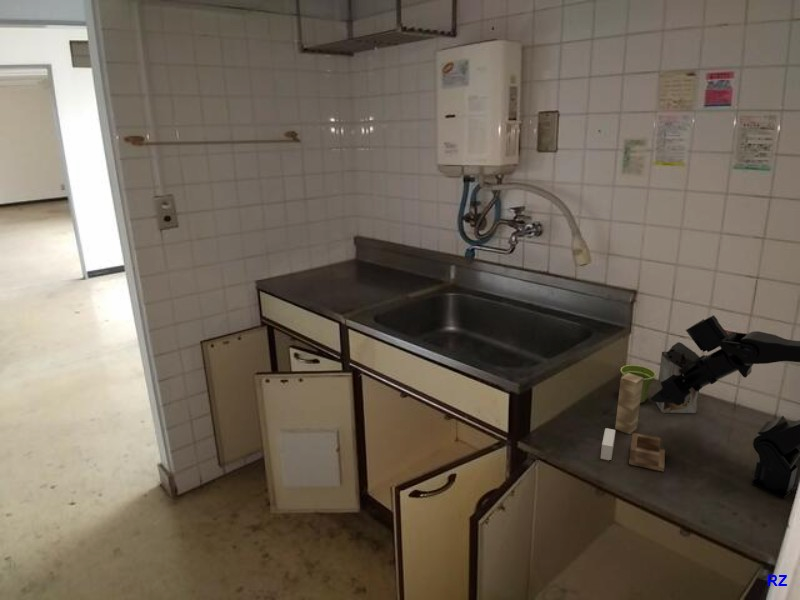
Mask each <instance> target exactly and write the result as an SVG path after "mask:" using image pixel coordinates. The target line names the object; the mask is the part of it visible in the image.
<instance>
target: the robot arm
mask: <svg viewBox="0 0 800 600" xmlns="http://www.w3.org/2000/svg"><path fill="white" fill-rule="evenodd" d="M685 332H686V333H687V334H688V335H689V337H690V338H691V339H692V341H693V342H694V343H695V345H696V346H697V348H698V349H699V351H702V352H703V353H704V352H707V353H710V352H711V351H713V350H716V349H717V348H719V347H720V349H718V350H716V351H713V352H711V353H710V354H708V355H707V354H706V355H705V354H703V355H701V356H700V355H698V354H697V353H696V352H695V351H693V350H692V349H691V348H689V347H688V346H687V345H685V344H684V343H682V342H679V341H678V342H675V344H673V345H672V346H671V347H670V349H668V351H666V352H667V354H666V355H665V356H666V358H667V359H668V360H669V361H671V362H672V363H673V364H675V365H678V366H679V367H681V369H680V370H679V371H680V372H681V374H680V375H679V376H677V375H671V376H669V377H668V378H666V379H664V380H663V381H662V382H661V386H662V389H661V390H660V391H658V392H657V391H656V393H655V394H653V395H652V396H651V397H650V400H651V402H653V403H656V402H664V403H674V404H675V405H677V406H678V405H680V404H682V403H684V402H686V401H687V400H688V399H689V398H690V395H691V392H690V391H689V389H691V388H692V387H693V388H694V390H695V391H698V390H699V391H700V390H702V389H703V387H706V386H708V385H713V384H715V383H717V382H718V381H719V380H721V379H723V378H725V377H727V376H730V375H731V374H733V373H736V372H739V373H740V375H741V376H742V377H743V378H747V377H748V376H749V375H750V374H751V373H752V367H753V365H760V364H761V365H762V364H763V365H764V364H772V363H779V362H790V363H800V340H792V339H787V338H783V337H781V336H778V335H776V334H772V333H767V332H763V331H750V332H748V333H744V332H743V333H742V332H737V331H731V332H730V333H728V332H727V331H726V330H725V329H724V327H723V326H722V325H721V324H720V322H719V320H718V318H717V316H715V315H711V316H708V317H707V318H705V319H701V320H700V321H698V322H696V323H695V324H693V325H692V326H690V327H688V328H686V329H685ZM694 352H695V353H696V354H697V355H696V354H695V353H694ZM752 446H753V449H754V451H755V453H757V455H758V458H759V460H758V461H757V462H756V465H755V469H754V474H753V479H754V480H751V481H752V482H751V484H752V485H753V486H755V487H758V488H760V489H761V490H763V491H766V492H768V493H770V494H773V495H775V496H777V497H778V498H781V499H785V498H787V497H788V496H789V495H790V494H791V493H792V492H793V491H795V490H796V487H797V485H796V484H795V482H796V481H795V480H796V476H797V472H798V468H799V467H798V465H796V462H797V460H798V459H799V457H800V449H799V446H800V419H798V420H794V421H793V420H790V421H789V420H787V419H786V417H785V416H784V415H781V416H780V417H778V418H777V419H774V420H770V421H768V420H767V421H766V422H765V424H763V426H762V427H761V428H760V430H758V432H757V435H756V436H755V437H754V439H753V442H752ZM791 491H792V492H791Z"/></svg>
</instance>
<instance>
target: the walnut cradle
mask: <svg viewBox="0 0 800 600" xmlns="http://www.w3.org/2000/svg"><path fill="white" fill-rule="evenodd" d="M660 446H661V437H658V436H651V435H646V434H640V433H636V432H632V435H631V444H630V451H629V459H628V460H629V461H628V465H631V466H636V467H641V468H646V469H649V470H655V471H659V472H665V466H666V465H665V463H666V462H665V460H666V459H665V455H666V454H665V452H666V450H665V449H661V448H660Z"/></svg>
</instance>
